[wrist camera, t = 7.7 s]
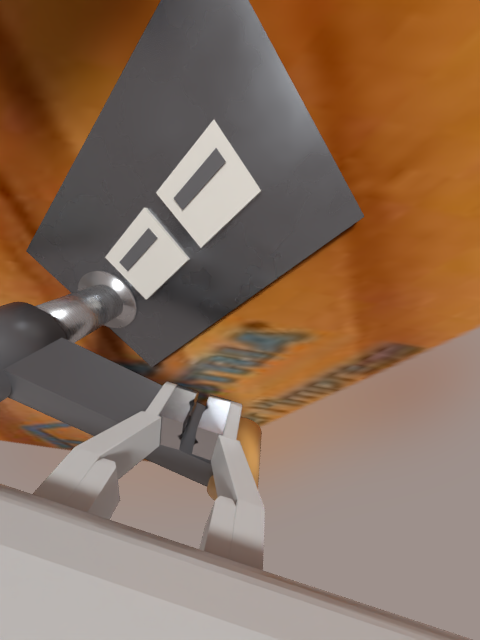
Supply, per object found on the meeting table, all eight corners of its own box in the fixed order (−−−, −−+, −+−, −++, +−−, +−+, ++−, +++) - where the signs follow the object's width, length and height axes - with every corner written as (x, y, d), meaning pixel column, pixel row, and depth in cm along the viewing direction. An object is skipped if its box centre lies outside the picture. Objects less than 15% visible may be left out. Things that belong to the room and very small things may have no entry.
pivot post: (121, 332, 17) (60, 375, 12) (77, 291, 16) (-8, 322, 11) (152, 304, 15) (96, 341, 10) (105, 255, 14) (19, 273, 9)
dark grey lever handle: (8, 342, 11) (-76, 380, 8) (1, 288, 9) (-106, 314, 7) (244, 453, 12) (236, 518, 9) (275, 421, 10) (275, 489, 8)
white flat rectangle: (202, 247, 12) (200, 248, 12) (158, 193, 11) (154, 192, 11) (261, 191, 10) (261, 190, 10) (215, 122, 9) (213, 117, 9)
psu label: (148, 298, 14) (145, 300, 14) (108, 256, 13) (104, 257, 13) (190, 258, 12) (187, 259, 12) (147, 207, 11) (143, 207, 11)
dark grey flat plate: (155, 362, 18) (152, 367, 17) (35, 250, 15) (26, 251, 14) (359, 217, 11) (364, 216, 10) (209, -60, 8) (204, -82, 7)
